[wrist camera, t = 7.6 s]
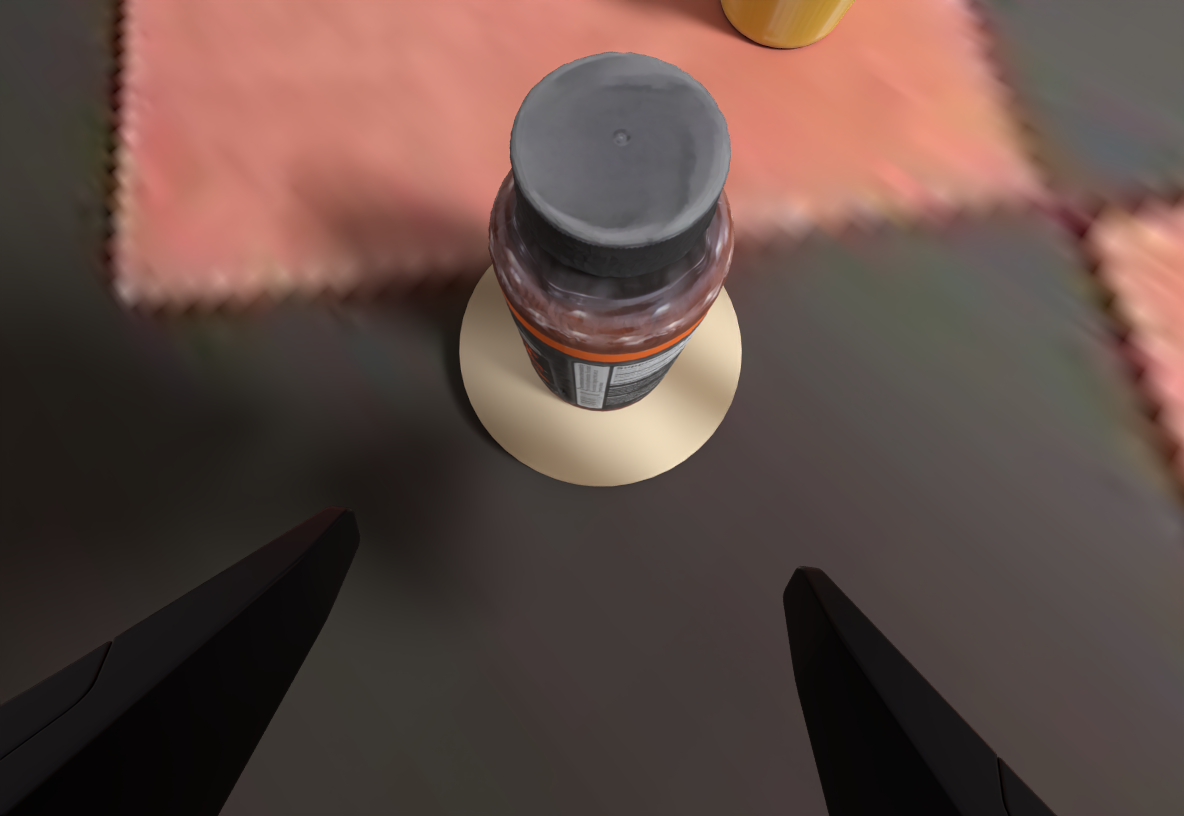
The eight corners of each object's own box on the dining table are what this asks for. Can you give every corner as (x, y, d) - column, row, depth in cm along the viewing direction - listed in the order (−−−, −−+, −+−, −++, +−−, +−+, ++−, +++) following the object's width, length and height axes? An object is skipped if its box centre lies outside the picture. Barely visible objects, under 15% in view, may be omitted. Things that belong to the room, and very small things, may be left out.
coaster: (691, 524, 19) (699, 526, 18) (425, 435, 19) (414, 431, 18) (760, 274, 21) (771, 261, 20) (520, 201, 22) (516, 183, 20)
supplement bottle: (513, 302, 19) (415, 39, 8) (644, 265, 20) (719, -34, 9) (552, 434, 18) (500, 335, 7) (690, 392, 19) (843, 236, 8)
